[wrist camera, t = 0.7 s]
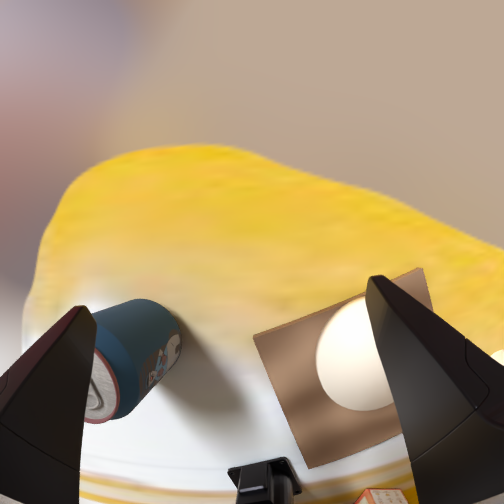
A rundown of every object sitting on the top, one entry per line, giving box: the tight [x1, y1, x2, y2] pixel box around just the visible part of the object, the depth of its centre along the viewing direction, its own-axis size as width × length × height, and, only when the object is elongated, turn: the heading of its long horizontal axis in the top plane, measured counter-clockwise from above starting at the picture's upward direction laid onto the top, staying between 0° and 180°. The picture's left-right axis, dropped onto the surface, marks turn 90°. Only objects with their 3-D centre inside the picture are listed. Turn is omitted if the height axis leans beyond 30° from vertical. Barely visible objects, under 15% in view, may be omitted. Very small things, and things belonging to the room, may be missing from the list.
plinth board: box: [253, 268, 433, 469], centre depth 23 cm, size 16×16×3 cm
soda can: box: [84, 299, 182, 424], centre depth 19 cm, size 7×7×12 cm
